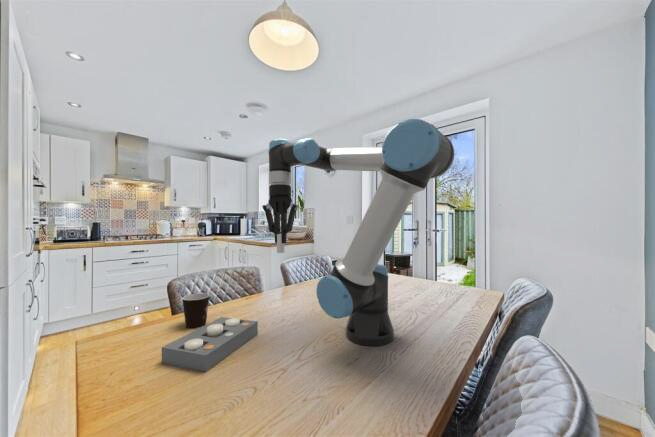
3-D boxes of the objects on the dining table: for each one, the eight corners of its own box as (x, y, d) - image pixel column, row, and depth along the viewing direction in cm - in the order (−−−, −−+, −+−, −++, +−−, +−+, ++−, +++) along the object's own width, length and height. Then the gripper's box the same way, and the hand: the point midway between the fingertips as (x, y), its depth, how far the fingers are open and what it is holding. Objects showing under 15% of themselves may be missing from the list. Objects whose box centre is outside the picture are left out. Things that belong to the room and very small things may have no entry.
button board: (257, 333, 87) (257, 320, 87) (205, 371, 65) (205, 354, 65) (221, 328, 91) (221, 316, 91) (161, 362, 69) (161, 346, 69)
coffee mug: (198, 330, 89) (198, 300, 89) (176, 328, 91) (176, 299, 91) (219, 318, 101) (219, 291, 101) (199, 316, 103) (199, 290, 103)
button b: (226, 331, 80) (226, 324, 80) (216, 337, 75) (216, 330, 75) (214, 329, 81) (214, 323, 81) (203, 335, 77) (203, 328, 77)
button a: (242, 325, 87) (242, 318, 87) (234, 330, 83) (234, 323, 83) (231, 323, 89) (231, 317, 89) (222, 328, 84) (222, 322, 84)
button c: (206, 347, 72) (206, 339, 72) (194, 355, 68) (194, 347, 68) (193, 344, 73) (193, 337, 73) (180, 352, 69) (180, 344, 69)
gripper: (301, 185, 95) (302, 251, 95) (268, 187, 99) (268, 251, 98) (293, 182, 88) (294, 254, 88) (258, 184, 91) (258, 253, 91)
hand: (280, 252), depth 93 cm, fingers closed
